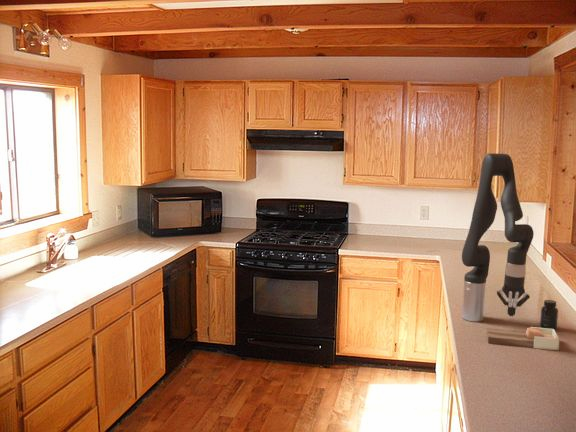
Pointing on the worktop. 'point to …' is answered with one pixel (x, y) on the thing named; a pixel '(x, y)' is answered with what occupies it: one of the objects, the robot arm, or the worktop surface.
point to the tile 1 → (533, 333)
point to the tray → (546, 339)
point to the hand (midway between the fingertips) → (510, 315)
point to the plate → (509, 337)
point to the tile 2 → (547, 336)
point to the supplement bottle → (549, 315)
